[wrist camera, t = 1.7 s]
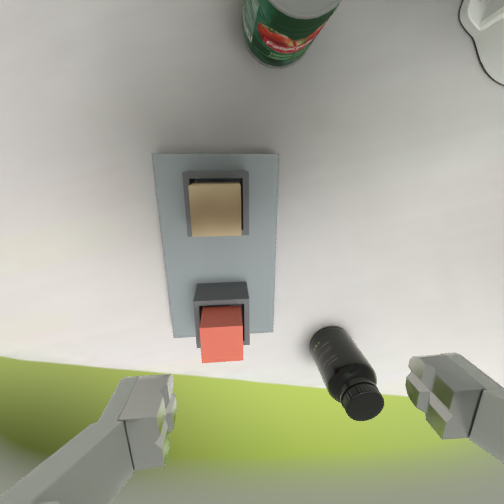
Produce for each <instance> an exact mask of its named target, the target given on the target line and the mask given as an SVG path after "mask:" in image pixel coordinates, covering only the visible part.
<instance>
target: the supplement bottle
mask: <svg viewBox="0 0 504 504" xmlns="http://www.w3.org/2000/svg"><path fill="white" fill-rule="evenodd" d="M310 350H311V353H312V356H313V358H314V360H315V363H316V365H317V367H318V370H319V372H320V374H321V376H322V379H323V381H324V383H325V385H326V388H327V390H328V392H329V394H330V395H331V396H332V397H333V398H334V399H335V400H336V401H338V402H340V403H341V404H342V406H343V407H344V408H345V411H346V413H347V414H348V416H349V417H350V418H352V419H353V420H356V421H365V420H369V419H372V418H374V417H375V416H377V415H378V414H379V413H380V412H381V410H382V409H383V406H384V399H383V397H382V395H381V393H380V392H379V390H378V388H377V387H376V384H377V378H376V374H375V371H374V370H373V368H372V367H371V365H370V364H369V362H368V361H367V359H366V358H365V357H364V355H363V354H362V352H361V351H360V350H359V348H358V347H357V345H356V344H355V343H354V341H353V340H352V338H351V337H350V336H349V334H348V333H347V332H346V331H344V330H343V329H341V328H337V327H329V328H325V329H323V330H321V331H319V332H318V333H317V334H316V335H315V336H314V337H313V339H312V341H311V345H310Z"/></svg>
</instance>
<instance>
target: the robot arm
mask: <svg viewBox="0 0 504 504" xmlns="http://www.w3.org/2000/svg"><path fill="white" fill-rule="evenodd" d="M460 21H461V23H462V25H463V26H464V28H465V29H466V30H467V31H468V32H469V34H470V35H471V36H472V37H473V38H474V40H475V43H476V46H477V50H478V54H479V57H480V60H481V62H482V64H483V66H484V68H485V70H486V71H487V73H488V74H489V75H490V76H491V77H492V78H493V79H494V80H496V81H497V82H499V83H501V84H503V85H504V0H464V1H463V4H462V7H461V10H460ZM409 368H410V369H411V371H412V372H411V373H410V374H409V375H408V376H407V377H406V390H407V394H408V396H409V398H410V400H411V401H412V403H413V404H414V405H415V406H416V408H418V409H420V410H421V411H423V412H425V413H426V420H427V421H428V423H429V424H430V425H431V426H432V427H433V429H434V430H435V431H436V432H437V434H438V435H439V436H440V438H441V439H458V438H469V440H471V441H472V442H474V443H475V444H476V445H478V446H479V447H481V448H482V449H484V450H485V451H486V452H488V453H489V454H491V455H492V456H494V457H495V458H496V459H498V460H499V461H501V462H502V463H504V388H503V387H502V386H500V385H499V384H498V383H497V382H495V381H494V380H493V379H491V378H490V377H489V376H487V375H486V374H485V373H484V372H482V371H481V370H480V369H478V368H477V367H476V366H474V365H473V364H472V363H471V362H469V361H468V360H467V359H465V358H464V357H463V356H462V355H460V354H457V353H446V354H440V355H426V356H414V357H412V358H411V359H410V361H409ZM173 386H174V381H173V376H172V375H171V374H169V375H149V376H135V377H124V378H123V379H121V380H120V382H119V384H118V386H117V387H116V389H115V391H114V393H113V395H112V397H111V398H110V400H109V402H108V404H107V406H106V408H105V409H104V411H103V413H102V415H101V417H100V419H99V420H98V422H97V423H92V424H90V425H89V426H88V427H87V428H85V429H84V430H83V431H82V432H80V433H79V434H78V435H77V436H75V437H74V438H73V439H71V440H70V441H69V442H68V443H66V444H65V445H64V446H63V447H61V448H60V449H59V450H58V451H56V452H55V453H54V454H53V455H51V456H50V457H49V458H48V459H46V460H45V461H44V462H42V463H41V464H40V465H39V466H37V467H36V468H35V469H34V470H32V471H31V472H30V473H29V474H27V475H26V476H25V477H24V478H22V479H21V480H20V481H19V482H17V483H16V484H15V485H14V486H12V487H11V488H10V489H8V490H7V491H6V492H5V493H3V494H2V495H1V496H0V504H110V503H111V502H112V500H113V499H114V498H115V496H116V495H117V494H118V493H119V491H120V490H121V488H123V486H124V485H125V483H126V482H127V481H128V480H129V479H130V477H131V476H132V475H133V473H134V471H135V470H143V469H150V468H157V467H165V464H166V459H167V455H168V451H169V446H170V438H169V433H170V432H171V431H172V430H173V429H174V424H175V419H176V395H175V394H174V393H172V390H173Z"/></svg>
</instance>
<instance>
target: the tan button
mask: <svg viewBox="0 0 504 504" xmlns="http://www.w3.org/2000/svg"><path fill="white" fill-rule="evenodd" d="M188 190H189V202H190V215H191V228H192V237H206V236H242V232H241V185H240V183H239V182H203V183H192V184H191V185H189V186H188Z"/></svg>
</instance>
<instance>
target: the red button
mask: <svg viewBox="0 0 504 504" xmlns="http://www.w3.org/2000/svg"><path fill="white" fill-rule="evenodd" d="M199 330H200V342H201V355H202V363H211V362H225V361H240V360H243V323H242V313H241V305H240V306H220V307H203V309H202V315H201V321H200V327H199Z"/></svg>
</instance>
